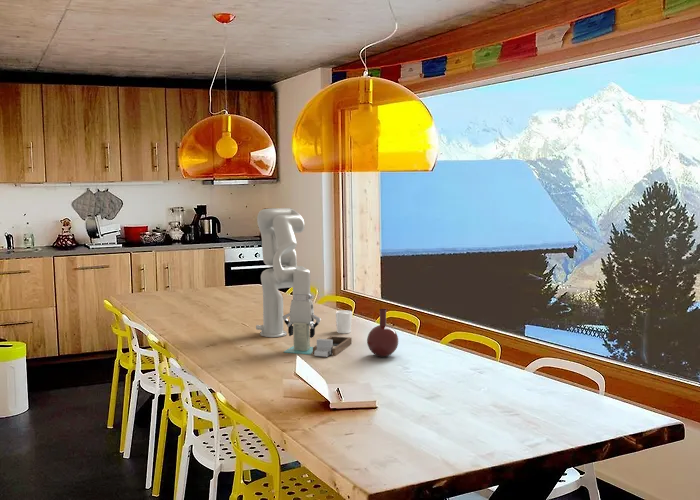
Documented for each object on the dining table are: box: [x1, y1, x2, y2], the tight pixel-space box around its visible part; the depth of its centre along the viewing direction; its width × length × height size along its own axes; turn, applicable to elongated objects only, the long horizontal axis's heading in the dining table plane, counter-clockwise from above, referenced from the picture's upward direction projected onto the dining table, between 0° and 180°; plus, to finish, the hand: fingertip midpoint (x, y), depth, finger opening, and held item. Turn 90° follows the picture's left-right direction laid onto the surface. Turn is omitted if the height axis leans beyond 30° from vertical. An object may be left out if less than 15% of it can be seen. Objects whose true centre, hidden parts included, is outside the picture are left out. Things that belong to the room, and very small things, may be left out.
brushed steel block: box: [313, 338, 334, 358], centre depth 316 cm, size 6×6×6 cm
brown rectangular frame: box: [312, 335, 353, 357], centre depth 329 cm, size 10×23×3 cm, turn 163°
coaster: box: [283, 345, 314, 355], centre depth 326 cm, size 12×12×1 cm
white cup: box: [335, 309, 353, 335], centre depth 363 cm, size 8×8×10 cm
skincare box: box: [292, 323, 311, 351], centre depth 325 cm, size 6×4×12 cm
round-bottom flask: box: [366, 308, 399, 358], centre depth 315 cm, size 13×13×20 cm
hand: (301, 336), depth 326 cm, fingers open, 9 cm apart
